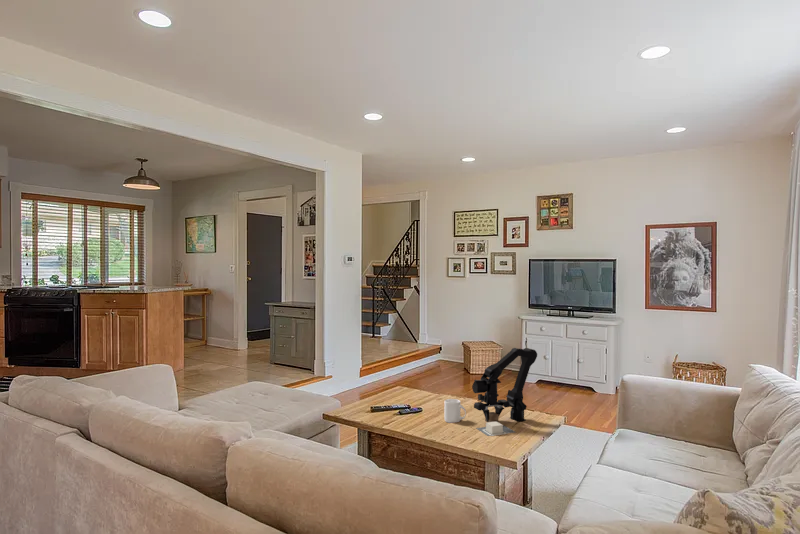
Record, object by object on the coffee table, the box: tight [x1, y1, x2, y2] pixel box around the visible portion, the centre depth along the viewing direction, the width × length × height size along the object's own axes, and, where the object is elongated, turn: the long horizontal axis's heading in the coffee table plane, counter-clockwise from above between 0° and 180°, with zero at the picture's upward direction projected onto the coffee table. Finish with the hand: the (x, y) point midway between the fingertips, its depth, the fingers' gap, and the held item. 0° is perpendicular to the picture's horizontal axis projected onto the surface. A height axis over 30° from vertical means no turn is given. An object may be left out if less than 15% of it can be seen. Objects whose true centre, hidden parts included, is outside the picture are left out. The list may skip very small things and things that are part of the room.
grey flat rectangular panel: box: [475, 424, 516, 437], centre depth 237 cm, size 16×12×1 cm
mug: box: [443, 398, 467, 424], centre depth 253 cm, size 9×12×11 cm
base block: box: [485, 421, 504, 435], centre depth 235 cm, size 6×6×4 cm
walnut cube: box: [484, 411, 499, 423], centre depth 251 cm, size 5×5×5 cm
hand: (491, 421), depth 251 cm, fingers closed on walnut cube, 5 cm apart
